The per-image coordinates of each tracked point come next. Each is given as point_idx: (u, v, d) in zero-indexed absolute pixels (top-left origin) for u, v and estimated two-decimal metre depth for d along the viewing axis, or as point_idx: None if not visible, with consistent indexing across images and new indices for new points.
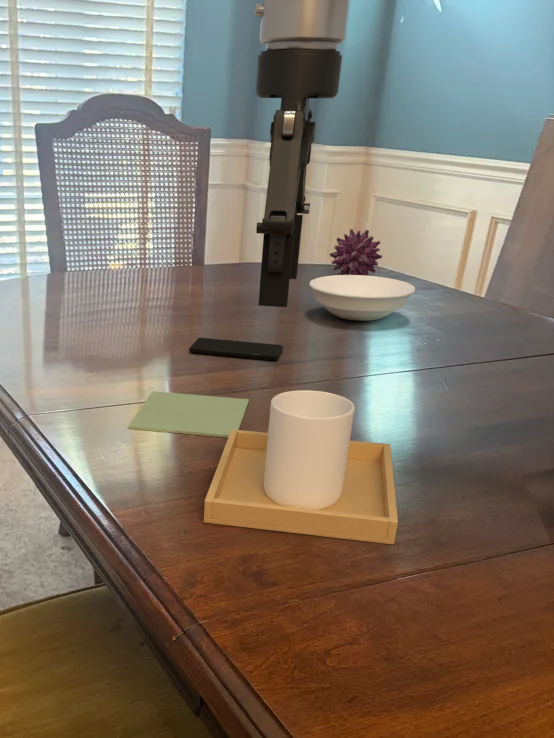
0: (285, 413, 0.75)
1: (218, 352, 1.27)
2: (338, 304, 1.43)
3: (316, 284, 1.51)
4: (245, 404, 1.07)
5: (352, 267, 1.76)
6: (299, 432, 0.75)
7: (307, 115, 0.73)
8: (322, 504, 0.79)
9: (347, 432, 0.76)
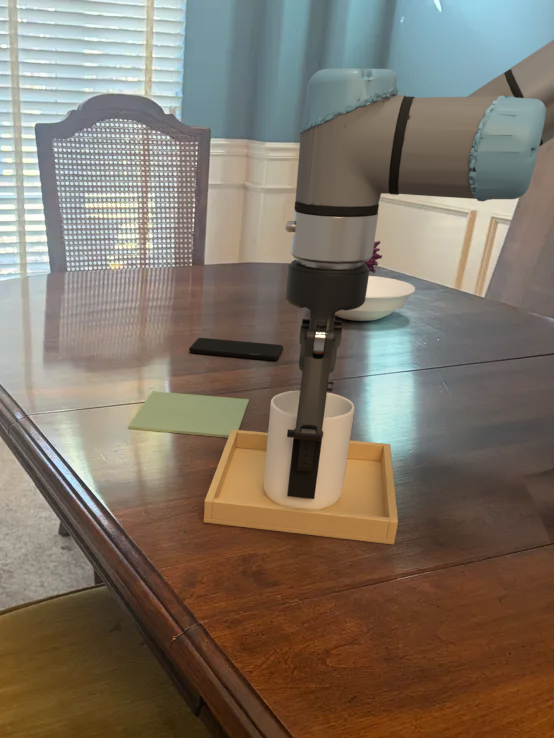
0: (285, 413, 0.75)
1: (218, 352, 1.27)
2: None
3: None
4: (245, 404, 1.07)
5: None
6: None
7: None
8: (322, 504, 0.79)
9: (347, 432, 0.76)
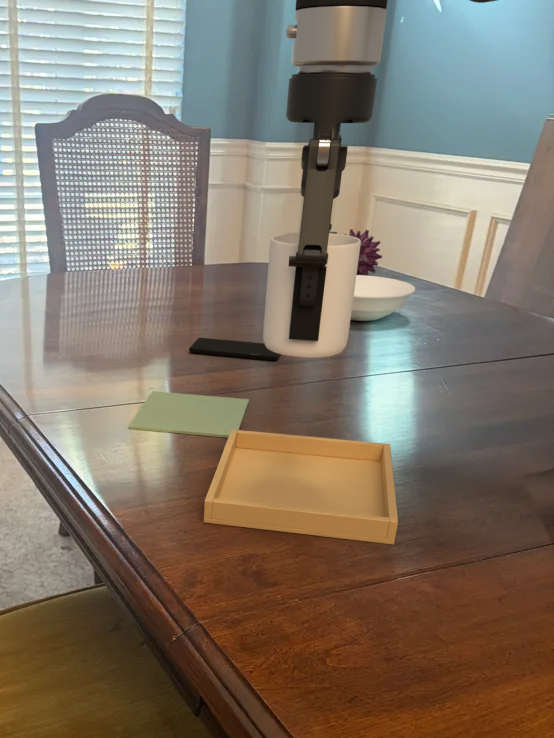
0: (286, 244, 0.69)
1: (218, 352, 1.27)
2: None
3: None
4: (245, 404, 1.07)
5: None
6: None
7: None
8: (326, 350, 0.73)
9: (353, 267, 0.70)
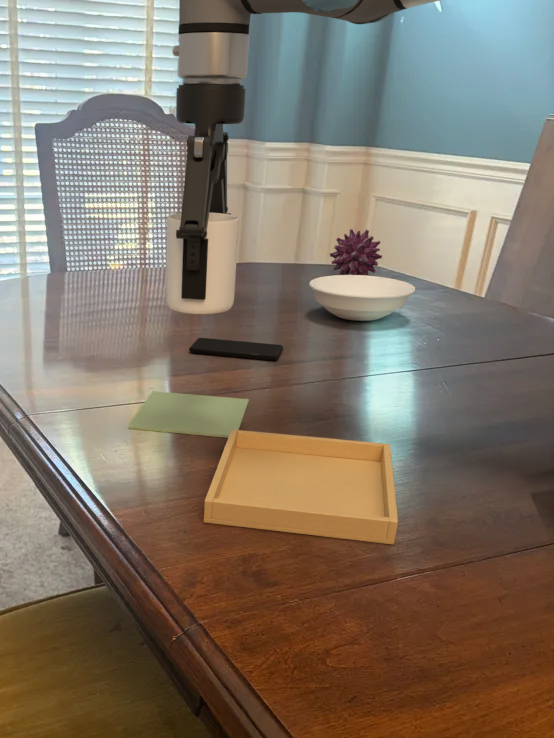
0: (176, 220, 0.86)
1: (218, 352, 1.27)
2: (338, 304, 1.43)
3: (316, 284, 1.51)
4: (245, 404, 1.07)
5: (352, 267, 1.76)
6: None
7: (221, 137, 0.88)
8: (213, 308, 0.90)
9: (232, 239, 0.87)
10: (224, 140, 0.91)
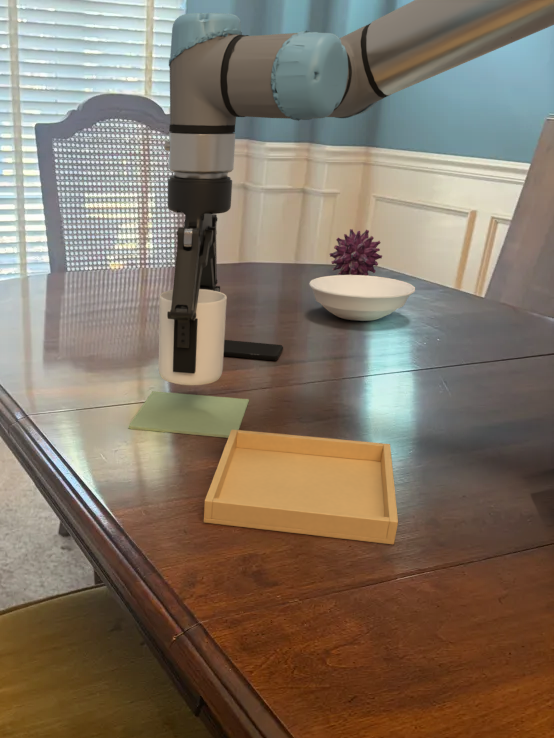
0: (168, 301, 0.92)
1: None
2: (338, 304, 1.43)
3: (316, 284, 1.51)
4: (245, 404, 1.07)
5: (352, 267, 1.76)
6: None
7: (210, 221, 0.94)
8: (202, 379, 0.96)
9: (220, 317, 0.93)
10: (213, 222, 0.97)
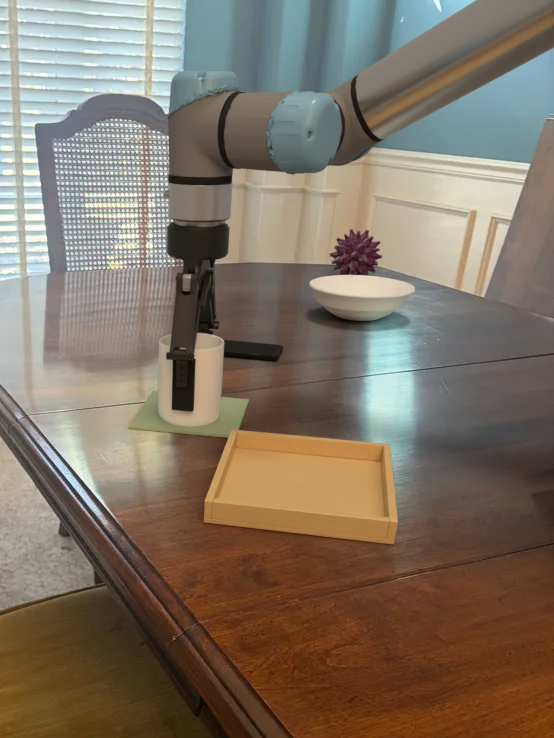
0: (167, 347, 0.95)
1: None
2: (338, 304, 1.43)
3: (316, 284, 1.51)
4: (245, 404, 1.07)
5: (352, 267, 1.76)
6: None
7: (208, 265, 0.96)
8: (201, 422, 0.99)
9: (217, 362, 0.96)
10: (211, 263, 0.99)
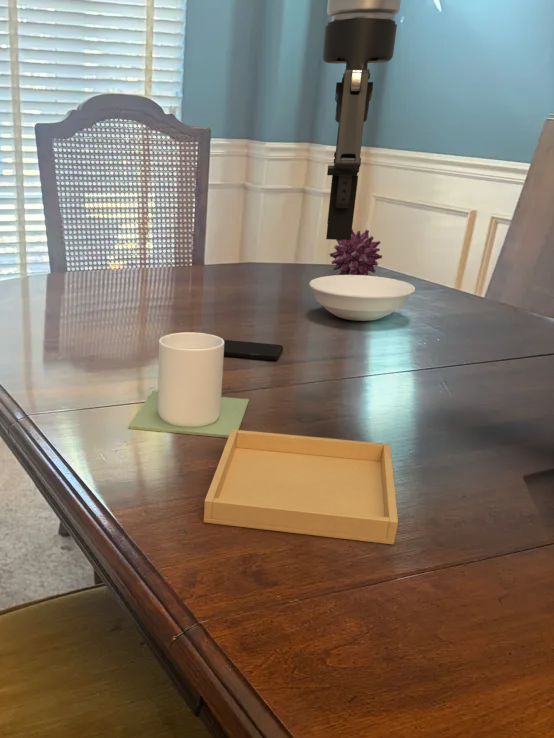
0: (167, 347, 0.95)
1: None
2: (338, 304, 1.43)
3: (316, 284, 1.51)
4: (245, 404, 1.07)
5: (352, 267, 1.76)
6: (178, 362, 0.95)
7: None
8: (201, 422, 0.99)
9: (217, 362, 0.96)
10: None
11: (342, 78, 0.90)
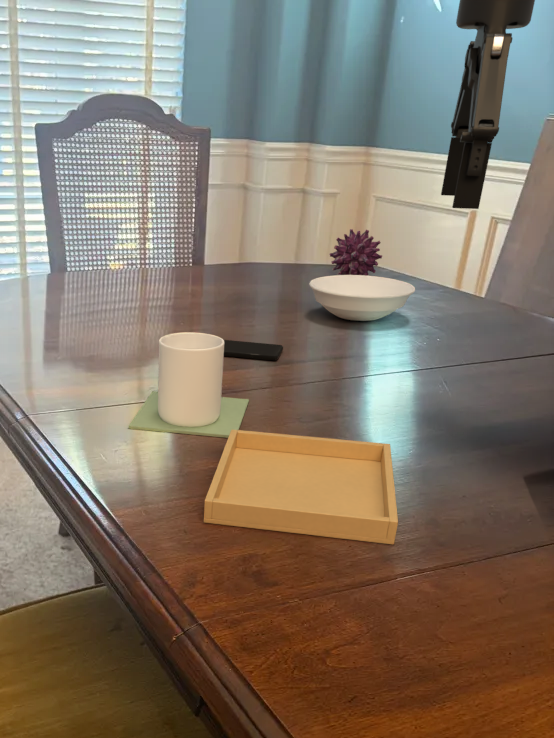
0: (167, 347, 0.95)
1: None
2: (338, 304, 1.43)
3: (316, 284, 1.51)
4: (245, 404, 1.07)
5: (352, 267, 1.76)
6: (178, 362, 0.95)
7: None
8: (201, 422, 0.99)
9: (217, 362, 0.96)
10: None
11: (469, 45, 0.89)
